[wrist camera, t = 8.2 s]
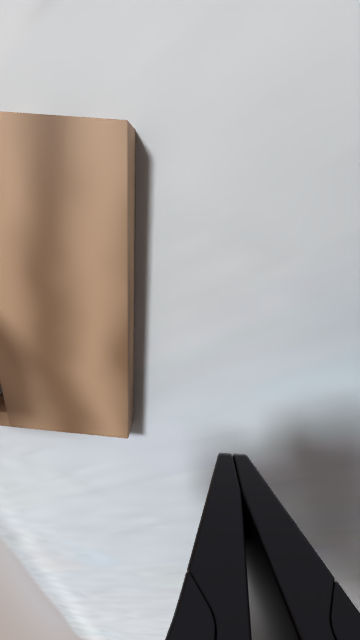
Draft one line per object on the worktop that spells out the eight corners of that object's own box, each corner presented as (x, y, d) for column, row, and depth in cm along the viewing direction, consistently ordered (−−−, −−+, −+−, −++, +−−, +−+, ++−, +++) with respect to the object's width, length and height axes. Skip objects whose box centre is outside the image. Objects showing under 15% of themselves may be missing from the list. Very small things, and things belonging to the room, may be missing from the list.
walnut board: (135, 130, 16) (127, 120, 14) (133, 421, 25) (127, 438, 23) (-111, 112, 17) (-149, 101, 15) (-30, 404, 25) (-48, 420, 23)
